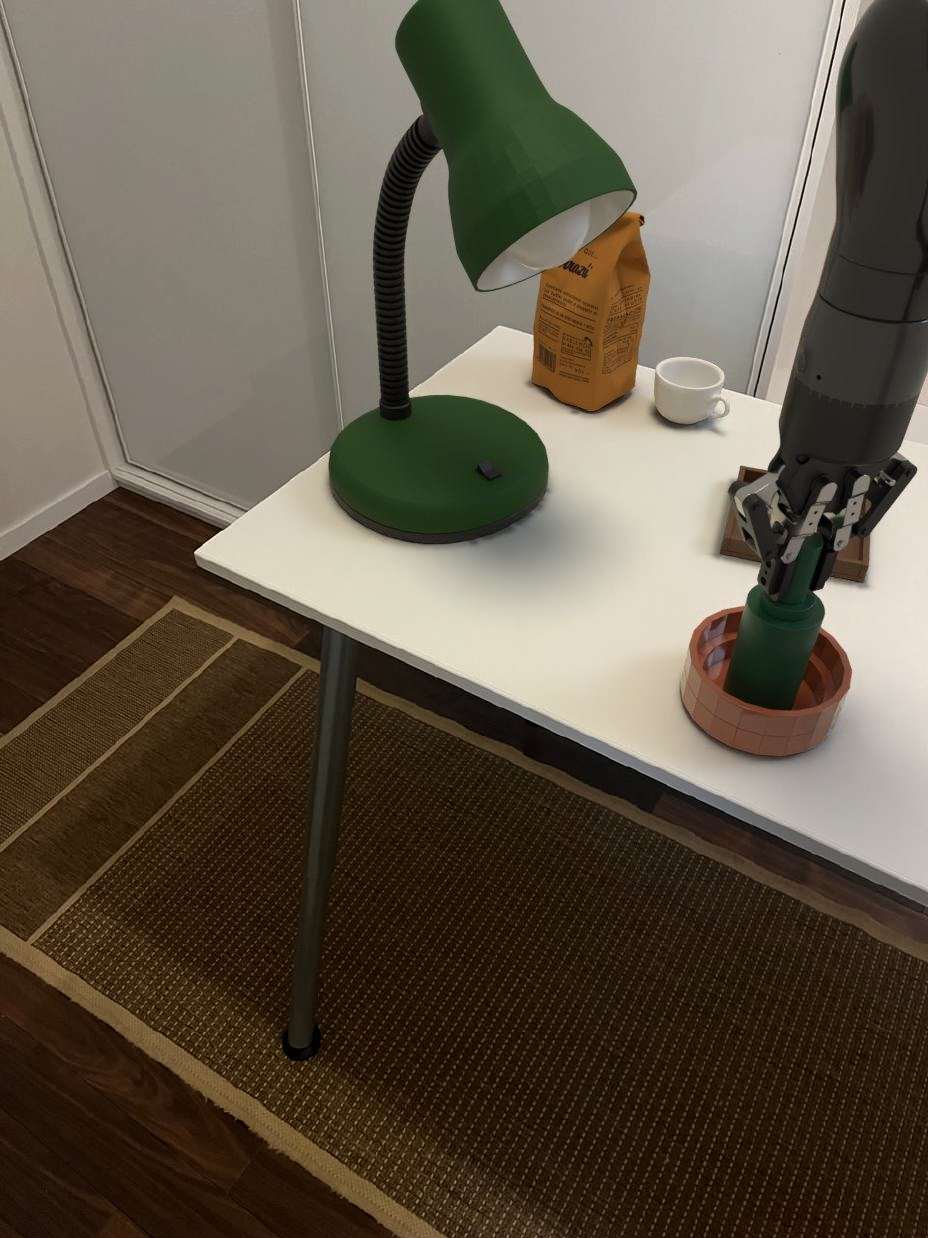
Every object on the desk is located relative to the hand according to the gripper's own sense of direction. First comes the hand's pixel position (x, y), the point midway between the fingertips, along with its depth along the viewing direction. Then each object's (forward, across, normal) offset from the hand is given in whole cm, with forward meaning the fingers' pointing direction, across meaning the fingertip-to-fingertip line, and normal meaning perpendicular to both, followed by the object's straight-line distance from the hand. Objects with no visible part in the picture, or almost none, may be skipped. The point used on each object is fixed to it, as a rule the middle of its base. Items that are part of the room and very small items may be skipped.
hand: (791, 587), depth 68 cm
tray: (+12, +17, +19) cm, 28 cm away
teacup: (+12, +18, +41) cm, 47 cm away
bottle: (+12, 0, 0) cm, 12 cm away
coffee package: (+12, +9, +52) cm, 55 cm away
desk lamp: (+12, -12, +36) cm, 40 cm away
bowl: (+12, 0, 0) cm, 12 cm away
